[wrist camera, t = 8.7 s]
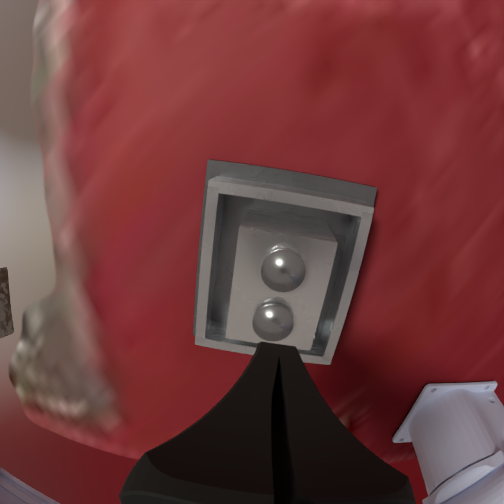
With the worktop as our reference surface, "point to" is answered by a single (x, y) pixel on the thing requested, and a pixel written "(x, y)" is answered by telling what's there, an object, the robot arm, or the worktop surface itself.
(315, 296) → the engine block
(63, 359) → the worktop surface
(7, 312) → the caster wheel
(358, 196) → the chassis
